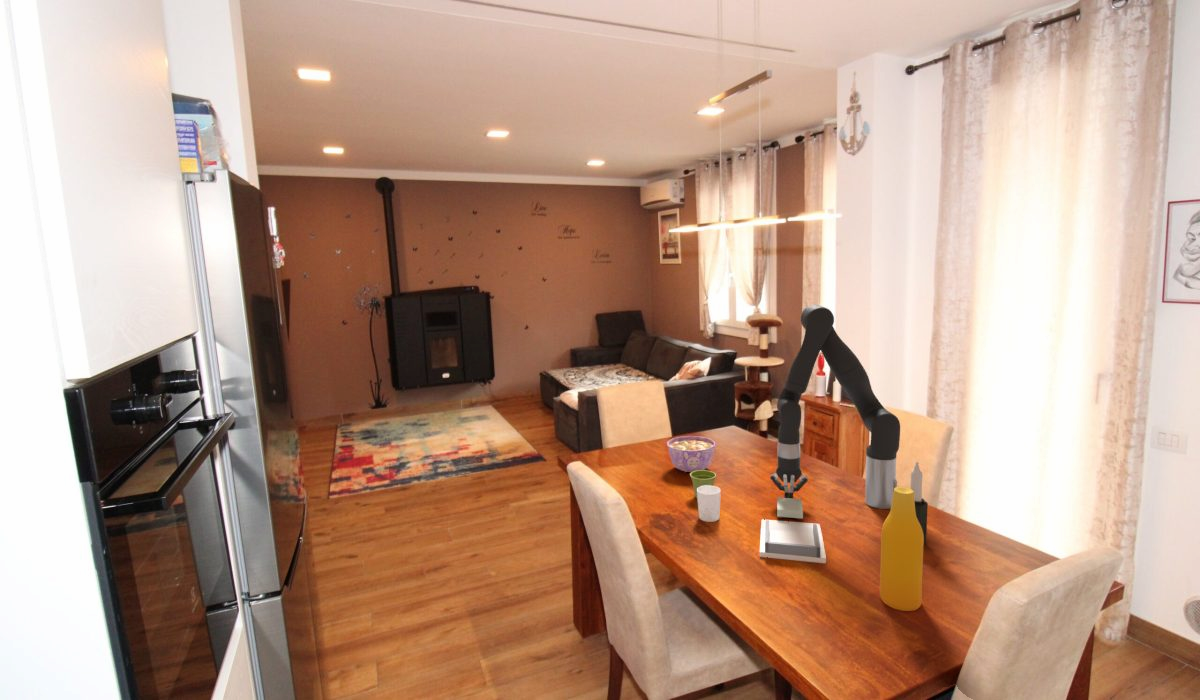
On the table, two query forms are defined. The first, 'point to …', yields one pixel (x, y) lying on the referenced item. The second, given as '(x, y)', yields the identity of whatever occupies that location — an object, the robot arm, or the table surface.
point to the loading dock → (792, 541)
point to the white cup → (708, 502)
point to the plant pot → (702, 479)
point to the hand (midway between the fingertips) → (788, 501)
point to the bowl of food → (691, 452)
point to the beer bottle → (902, 554)
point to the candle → (919, 499)
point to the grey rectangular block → (789, 508)
